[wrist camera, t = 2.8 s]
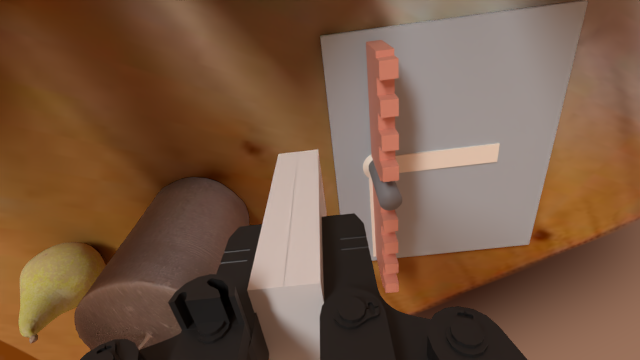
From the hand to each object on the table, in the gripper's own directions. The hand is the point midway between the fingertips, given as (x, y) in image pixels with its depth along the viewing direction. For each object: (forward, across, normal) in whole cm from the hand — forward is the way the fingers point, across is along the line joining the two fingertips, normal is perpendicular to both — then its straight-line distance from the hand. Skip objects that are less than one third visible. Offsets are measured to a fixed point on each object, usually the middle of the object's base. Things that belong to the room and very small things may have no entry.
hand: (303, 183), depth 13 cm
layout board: (+17, +11, -8) cm, 22 cm away
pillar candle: (+17, -13, -12) cm, 25 cm away
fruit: (+17, -27, -15) cm, 35 cm away
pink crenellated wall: (+16, +5, -2) cm, 17 cm away
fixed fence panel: (+16, +5, -13) cm, 22 cm away
